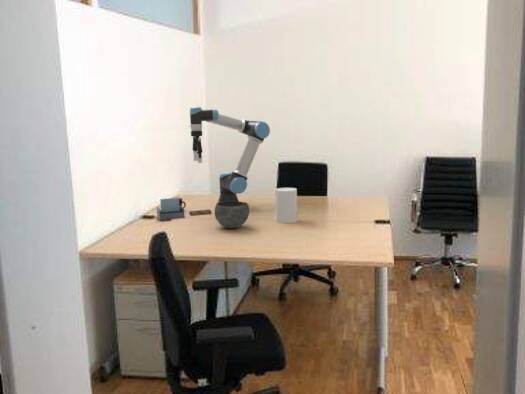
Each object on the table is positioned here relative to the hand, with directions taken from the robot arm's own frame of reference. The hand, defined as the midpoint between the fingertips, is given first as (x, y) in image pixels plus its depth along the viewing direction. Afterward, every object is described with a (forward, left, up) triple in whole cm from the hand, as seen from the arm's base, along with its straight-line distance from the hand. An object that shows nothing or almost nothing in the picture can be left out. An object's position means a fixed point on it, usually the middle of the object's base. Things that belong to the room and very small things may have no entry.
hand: (197, 161), depth 394 cm
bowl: (-9, +54, -35) cm, 64 cm away
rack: (+22, +11, -35) cm, 43 cm away
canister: (-45, +49, -35) cm, 75 cm away
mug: (+14, -5, -35) cm, 38 cm away
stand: (+2, +11, -35) cm, 36 cm away
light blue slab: (+22, +11, -34) cm, 42 cm away
